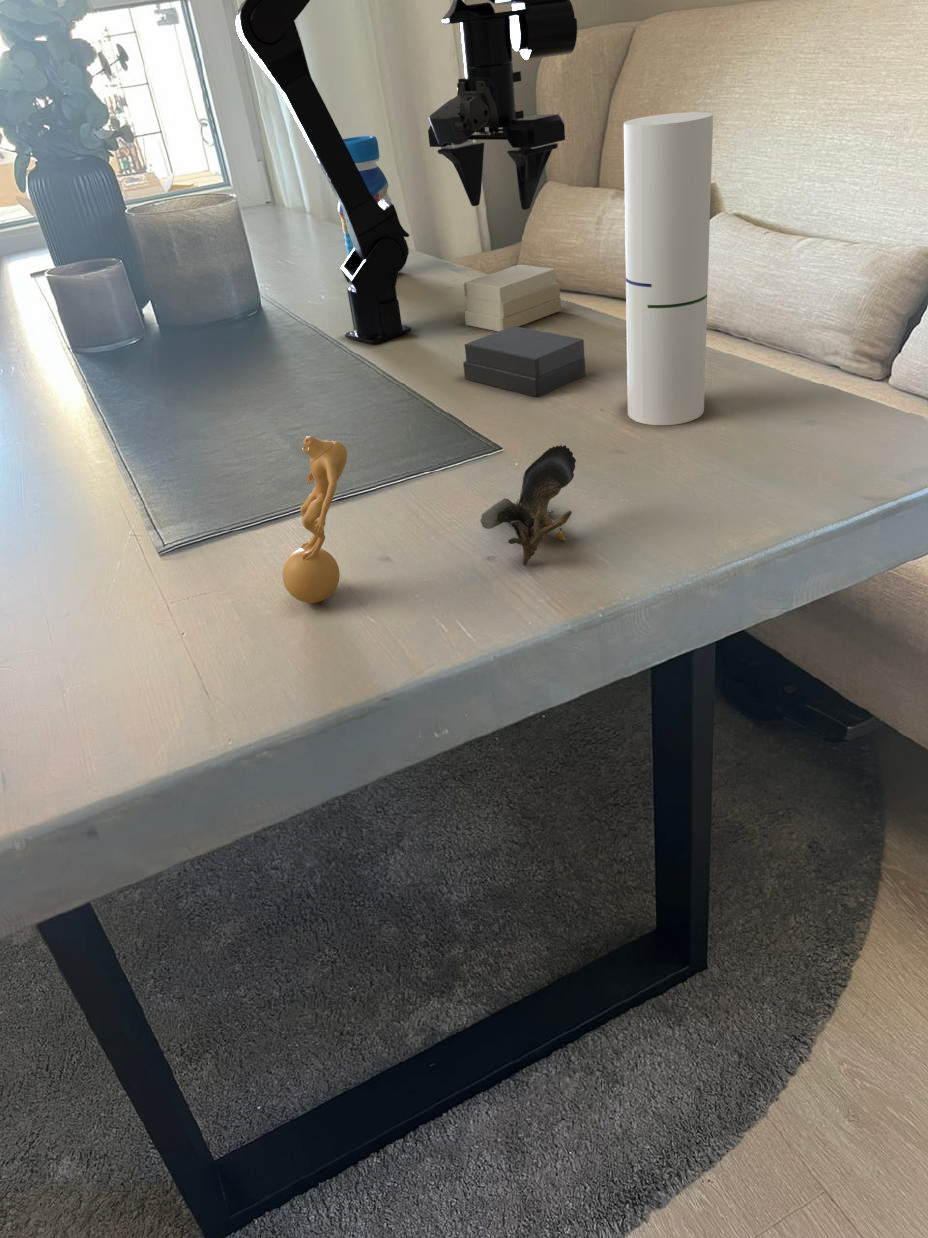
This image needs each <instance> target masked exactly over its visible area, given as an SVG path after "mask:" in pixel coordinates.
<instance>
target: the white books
mask: <svg viewBox="0 0 928 1238" xmlns="http://www.w3.org/2000/svg"><path fill="white" fill-rule="evenodd" d="M561 299H562V298H561V284H560V283H559V282H556V283H555V284H552V285H550V286H547V287H544V288H541V289H538V290H535V291H533V292H530V293H527V294H524V295H521V296H518V297H516V298H513V299H510V300H507V301H504V302H502V303H499V302H493V301H488V300H482V299H476V298H470V297H466V296H465V303H466V310H464V318H465V325H466V326H469V327H474V328H480V329H484V330H489V331H494V332H498V331H501V330H504V329H506V328H509V327H512V326H516V327H521V326H524V325H527V324H530V323H531V322H535V321H537V320H540V319H543V318H545V317H548V316H551V315H553V314H556V313H559V312H561V311H562V304H561V303H562V300H561Z"/></svg>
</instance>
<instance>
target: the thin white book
mask: <svg viewBox="0 0 928 1238" xmlns="http://www.w3.org/2000/svg"><path fill="white" fill-rule="evenodd" d="M555 283H557V276H556V269H555V268H550V267H543V266H535V265H526V264H521V263H520V264H517V265H514V266H509V267H507V268H504V269H502V270H498V271H495V272H492V273H490V274H486V275H482V276H479V277H477V278H474V279H470V280H468V281H465V282H463V292H464V297H465V298H466V297H470V298H476V299H482V300H488V301H493V302H499V303H502V302H504V301H507V300H510V299H513V298H516V297H518V296H521V295H524V294H527V293H530V292H533V291H535V290H538V289H541V288H544V287H547V286H550V285H552V284H555Z"/></svg>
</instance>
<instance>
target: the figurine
mask: <svg viewBox="0 0 928 1238" xmlns="http://www.w3.org/2000/svg"><path fill="white" fill-rule="evenodd" d="M302 444H303V445H304V446H303V447H302V448H301V449H302V451H303V453H304V454H306V455H308V456H309V457H310V458H309V468H310V472H309V474H308V475H307V477H306V483H305V484H306V485H307V484H308V485H310V484H311V483H312V484H313V483H314V487H313V488H312V491H311V492H310V494H309V495H308V496H307V498H306V500H305V501H304V503H303V504H302V505H301V506H300V509H299V510H300V511H299V512H300V514H301V516H302V518H301V523H302V525H303V527H304V529H305V530H307V531H308V532H310V533H311V534H312V537H310V539H309V540H308V541H305V542H304V543H302V544H301V547H300V548H298V549H296V550H295V551H293V552H292V553H291V554H289V556H288V557H287V559H286V560H285V562H284V564H283V567H282V582H283V585H284V587H285V590H286V591H287V592H288V593H289V595H291V596H292V597H293V598H294V599H296V600H298V601H300V602H303V603H307V604H317V603H320V602H323V601H325V600H327V599H328V598H329V597H331V596H332V595H333V594H334V592H335V591H336V590H337V588H338V585H339V582H340V578H341V577H340V575H341V574H340V572H341V571H340V567H339V565H338V562H337V560H336V559H335V557H334V556H333V555H332V554H331V553H330V552H329V551H327V550H325V548H324V549H323V548H322V546H323V545H324V542H325V540H326V535H325V529H324V528H325V525H326V520H327V519H326V518H327V515H328V512H329V510H330V507H331V504H332V502H333V499H334V496H335V493H336V490H337V486H338V481H339V479H340V478H341V475H342V473H343V472H344V469H345V467H346V464H347V461H348V460H347V459H348V450H347V447H346V446H345V445H344V444H343V443H342V442H340V441H338V440H322V439H319V438H316V437H314V436H311V435H308V436H305V438H304V439H303V440H302Z"/></svg>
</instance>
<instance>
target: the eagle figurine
mask: <svg viewBox="0 0 928 1238" xmlns="http://www.w3.org/2000/svg"><path fill="white" fill-rule="evenodd" d="M573 455H574V453H573V452H572V451H571V450H570V448H569V447H567V445H561V444H560V445H555V446H552V447H549V448H548V449H547V450H545V451H544V452H543V453H542V454H541V455H540V456H539V457H538V458H537V459H535V460H534V461H533V462H532V463H531V465H529V466H528V467H527V469H526V470H525V471H524V473H523V475H522V484H521V489H520V494H519V498H518V499H517V500H516V501H515V502H512V500H510V499H509V498H502V499H501V500H498V501H496V502H495V503H494V504H492V505H491V506H490V507H488V508H487V509H486V510H484V511H483V512H482V513H481V516H480V517H481V518H480V519H479V521H480V523H481V526H482V528H484V529H485V530H490V529H493V528H496V527H497V526H499V525H501V524H503V523H507V524H510V525H511V526H512V528H513V529H514V530H515V533H516V536H517V537H511V538H509V539H508V540H507V544H510V545H515V544H518V545H521V546H522V560H521V561H522V562H521V563H522V565H523V566H527V565H528V563H529V561H530V560H531V557H534V556H535V553H536V551H537V550H538V547H539V545H540V543H541V542H542V540H543V539H544V538H545V536H546V535H549V536H550V537H554V538H557V539H559V540H561V541H562V542H566V538H565V536H564V535H563V529H562V527H561V526H563V525H564V524H566V523H567V521H568V520H569V518H570V517H571V516H572V513H573V511H572V510H567V511H566V512H564V513H563V514H562V515H561V516H560V517H557V518H556V519H555V520H553V519H552V518H551V517H550V514H553V513H554V512H555V511H554V510H548V506H549V503H550V502H551V500H552V499H554V498H555V497H556V496H557V495H559V493H560V492H561V490H562V489H563V488H566V487H567V486H568V485H569V484H570V483H571V482H572V480H573V479H574V477H575V474H574V472H575V469H576V462H577V459H576V458H575V457H574V456H573Z"/></svg>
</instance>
